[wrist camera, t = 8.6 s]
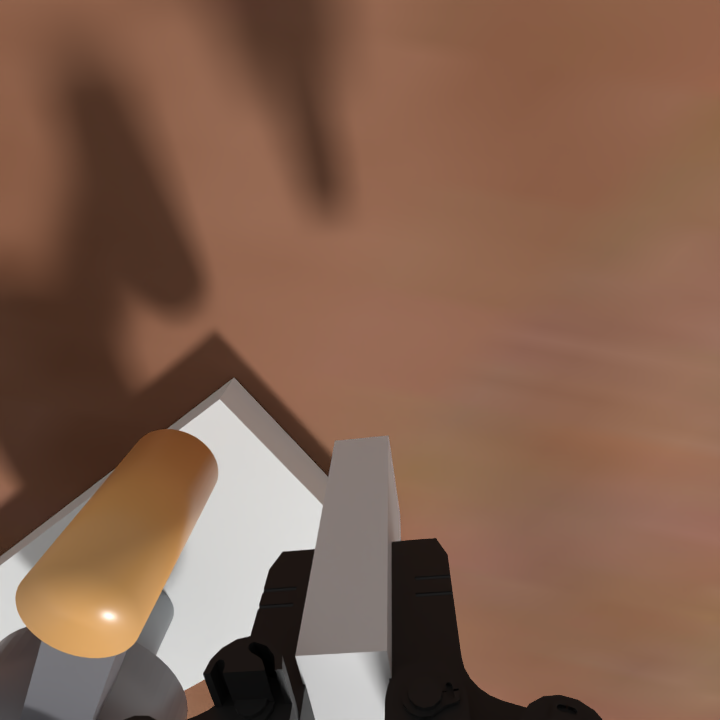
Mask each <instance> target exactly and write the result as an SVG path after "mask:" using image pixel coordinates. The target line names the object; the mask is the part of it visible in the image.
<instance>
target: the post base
mask: <svg viewBox="0 0 720 720" xmlns="http://www.w3.org/2000/svg"><path fill="white" fill-rule="evenodd" d="M167 429H174V430H179V431H183V432H186V433H189V434H191V435H193V436H195V437H196V438H198V439H199V440H201V441H202V442H203V443H204V444H205V445H206V446H207V447H208V448H209V449H210V450H211V452H212V453H213V455H214V457H215V459H216V462H217V465H218V480H217V483H216V485H215V487H214V489H213V491H212V493H211V495H210V497H209V499H208V501H207V503H206V505H205V507H204V509H203V511H202V513H201V515H200V517H199V519H198V521H197V523H196V525H195V526H194V528H193V530H192V532H191V534H190V536H189V538H188V540H187V542H186V544H185V546H184V548H183V550H182V552H181V554H180V556H179V558H178V560H177V562H176V564H175V566H174V568H173V570H172V572H171V574H170V576H169V578H168V580H167V582H166V584H165V586H164V588H163V590H162V592H161V594H160V596H159V598H158V600H157V602H156V604H155V605H154V607H153V609H152V611H151V613H150V615H149V617H148V619H147V621H146V623H145V625H144V627H143V629H142V631H141V633H140V635H139V637H138V639H137V641H136V642H137V643H138V644H140V645H142V646H143V647H145V648H146V649H148V650H149V651H151V652H152V653H153V654H155V655H156V656H157V657H159V658H160V659H161V660H162V661H163V662H164V663H165V664H166V665H167V666H168V667H169V668H170V670H171V671H172V672H173V673H174V674H175V676H176V677H177V679H178V680H179V682H180V684H181V686H182V688H183V690H186V689H188V688H190V687H192V686H193V685H195V684H197V683H199V682H201V681H202V680H204V679H205V678H204V676H203V672H204V671H205V669H206V667H207V665H208V663H209V661H210V660H211V658H212V657H213V656H214V655H215V654H216V653H217V652H218V651H219V650H220V649H221V648H222V647H224V646H226V645H228V644H229V643H231V642H233V641H235V640H236V639H239V638H244V637H248V636H250V635H251V632H252V628H253V625H254V621H255V618H256V614H257V610H258V609H259V603H260V600H261V596H262V593H264V586H265V582H266V579H267V575H268V572H269V569H270V567H271V566H272V565H273V564H274V562H275V561H276V560H277V558H278V557H279V556H280V554H281V553H282V552H283V551H296V550H309V549H315V546H316V541H317V535H318V530H319V524H320V519H321V514H322V508H323V503H324V497H325V492H326V487H327V481H328V476H327V475H326V474H325V473H324V472H323V471H322V470H321V469H320V468H319V467H318V466H317V464H316V463H315V462H314V461H313V460H312V459H311V458H310V457H309V456H308V455H307V454H306V453H305V452H304V451H303V450H302V449H301V448H300V447H299V445H298V444H297V443H296V442H295V441H294V440H293V439H292V438H291V437H290V436H289V435H288V434H287V433H286V432H285V431H284V430H283V429H282V428H281V426H280V425H279V424H278V423H277V422H276V421H275V420H274V419H273V418H272V417H271V416H270V415H269V414H268V413H267V412H266V411H265V410H264V409H263V407H262V406H261V405H260V404H259V403H258V402H257V401H256V400H255V399H254V398H253V397H252V396H251V395H250V394H249V393H248V392H247V391H246V390H245V389H244V387H243V386H242V385H241V384H240V383H239V382H238V381H237V380H236V379H235V378H233V379H231V380H230V381H229V382H227V383H226V384H225V385H224V386H222V387H221V388H220V389H218V390H217V391H216V392H214V393H213V394H212V395H210V396H209V397H208V398H207V399H205V400H204V401H203V402H201V403H200V404H199V405H197V406H196V407H195V408H193V409H192V410H191V411H190V412H188V413H187V414H186V415H184V416H183V417H182V418H180V419H179V420H178V421H177V422H175V423H174V424H173V425H171V426H170V427H169V428H167ZM114 470H115V469H114ZM114 470H113V471H114ZM113 471H111V472H110V473H109V474H107V475H106V476H105V477H103V478H102V479H101V480H99V481H98V482H97V483H96V484H94V485H93V486H92V487H90V488H89V489H88V490H86V491H85V492H84V493H82V494H81V495H80V496H79V497H77V498H76V499H75V500H73V501H72V502H71V503H69V504H68V505H67V506H66V507H64V508H63V509H62V510H60V511H59V512H58V513H56V514H55V515H54V516H52V517H51V518H50V519H49V520H47V521H46V522H45V523H43V524H42V525H41V526H39V527H38V528H37V529H35V530H34V531H33V532H32V533H30V534H29V535H28V536H26V537H25V538H24V539H22V540H21V541H20V542H19V543H17V544H16V545H15V546H13V547H12V548H11V549H9V550H8V551H7V552H5V553H4V554H3V555H2V556H0V641H1V640H2V639H4V638H5V637H6V636H8V635H9V634H11V633H13V632H15V631H17V630H19V629H21V628H24V627H26V625H25V624H24V623H23V621H22V619H21V618H20V616H19V613H18V611H17V607H16V601H15V596H16V591H17V588H18V586H19V584H20V582H21V581H22V580H23V578H24V577H25V576H26V575H27V574H28V572H29V571H30V570H31V569H32V568H33V566H34V565H35V564H36V563H37V562H38V561H39V559H40V558H41V557H42V556H43V555H44V553H45V552H46V551H47V550H48V549H49V547H50V546H51V545H52V544H53V543H54V541H55V540H56V539H57V538H58V537H59V535H60V534H61V533H62V532H63V531H64V529H65V528H66V527H67V526H68V525H69V523H70V522H71V521H72V520H73V519H74V517H75V516H76V515H77V514H78V513H79V511H80V510H81V509H82V508H83V507H84V505H85V504H86V503H87V502H88V501H89V499H90V498H91V497H92V496H93V495H94V493H95V492H96V491H97V490H98V489H99V487H100V486H101V485H102V484H103V483H104V481H105V480H106V479H107V478H108V477H109V475H110V474H111V473H112V472H113Z"/></svg>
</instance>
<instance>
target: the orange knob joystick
mask: <svg viewBox="0 0 720 720" xmlns="http://www.w3.org/2000/svg"><path fill="white" fill-rule="evenodd" d="M217 480H218V465H217V462H216V459H215V457H214V455H213V453H212V452H211V450H210V449H209V448H208V447H207V446H206V445H205V444H204V443H203V442H202V441H201V440H199V439H198V438H196V437H195V436H193V435H191V434H189V433H186V432H183V431H179V430H174V429H161V430H156V431H153V432H150V433H148V434H146V435H145V436H143V437H142V438H141V439H140V440H139V441H138V442H137V443H136V444H135V446H134V447H133V448H132V449H131V450H130V452H129V453H128V454H127V455H126V456H125V458H124V459H123V460H122V461H121V462H120V464H119V465H118V466H117V467H116V468H115V470H114V471H113V472H112V473H111V474H110V475H109V477H108V478H107V479H106V480H105V481H104V483H103V484H102V485H101V486H100V487H99V489H98V490H97V491H96V492H95V493H94V495H93V496H92V497H91V498H90V499H89V501H88V502H87V503H86V504H85V505H84V507H83V508H82V509H81V510H80V511H79V513H78V514H77V515H76V516H75V517H74V519H73V520H72V521H71V522H70V523H69V525H68V526H67V527H66V528H65V529H64V531H63V532H62V533H61V534H60V535H59V537H58V538H57V539H56V540H55V541H54V543H53V544H52V545H51V546H50V547H49V549H48V550H47V551H46V552H45V553H44V555H43V556H42V557H41V558H40V559H39V561H38V562H37V563H36V564H35V565H34V566H33V568H32V569H31V570H30V571H29V572H28V574H27V575H26V576H25V577H24V578H23V580H22V581H21V582H20V584H19V586H18V588H17V591H16V596H15V601H16V607H17V611H18V613H19V616H20V618H21V619H22V621H23V623H24V624H25V625H26V627H24V628H21V629H19V630H17V631H15V632H13V633H11V634H9V635H8V636H6V637H5V638H4V639H2V640H1V641H0V720H124V719H127V718H130V717H132V716H151V717H152V718H154V719H156V720H186V718H187V711H188V710H187V700H186V696H185V692H184V690H183V688H182V686H181V684H180V682H179V680H178V679H177V677H176V676H175V674H174V673H173V672H172V671H171V670H170V668H169V667H168V666H167V665H166V664H165V663H164V662H163V661H162V660H161V659H160V658H159V657H157V656H156V655H155V654H153V653H152V652H151V651H149V650H148V649H146V648H145V647H143V646H142V645H140V644H138V643H137V642H136V641H137V639H138V637H139V635H140V633H141V631H142V629H143V627H144V625H145V623H146V621H147V619H148V617H149V615H150V613H151V611H152V609H153V607H154V605H155V604H156V602H157V600H158V598H159V596H160V594H161V592H162V590H163V588H164V586H165V584H166V582H167V580H168V578H169V576H170V574H171V572H172V570H173V568H174V566H175V564H176V562H177V560H178V558H179V556H180V554H181V552H182V550H183V548H184V546H185V544H186V542H187V540H188V538H189V536H190V534H191V532H192V530H193V528H194V526H195V525H196V523H197V521H198V519H199V517H200V515H201V513H202V511H203V509H204V507H205V505H206V503H207V501H208V499H209V497H210V495H211V493H212V491H213V489H214V487H215V485H216V483H217Z"/></svg>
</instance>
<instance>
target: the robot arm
mask: <svg viewBox="0 0 720 720" xmlns="http://www.w3.org/2000/svg"><path fill="white" fill-rule="evenodd" d="M203 676H204V678H205V681H206V684H207V686H208V689H209V692H210V694H211V697H212V699H213V702H214V705H215V706H213V707H212V708H211V709H209V710H208V711H206V712H204V713H202V714H200V715H198V716H195V717H193V718H190V719H187V720H602V719H601V717H600V716H599V715H598V714H597V713H596V712H595V711H594V710H593V709H591V708H590V707H588V706H587V705H585V704H584V703H582V702H580V701H579V700H576V699H573V698H569V697H566V696H562V695H553V696H543V697H541V698H539V699H537V700H536V701H534V702H532V703H530V704H529V705H528V707H527V708H526V707H522V706H519V705H515V704H512V703H508V702H505V701H502V700H499V699H497V698H495V697H492V696H490V695H488V694H487V693H486V692H484V691H483V690H481V689H480V688H479V687H478V686H477V685H476V684H475V683H474V682H473V681H472V680H471V679H470V677H469V675H468V674H467V672H466V670H465V668H464V665H463V661H462V658H461V651H460V643H459V636H458V629H457V621H456V614H455V607H454V599H453V592H452V585H451V578H450V570H449V563H448V555H447V553H446V552H445V551H444V549H443V548H442V546H441V545H440V544H439V542H438V541H437V539H436V538H433V539H420V540H407V541H401V530H400V511H399V504H398V497H397V490H396V484H395V477H394V470H393V463H392V456H391V449H390V442H389V436H380V437H369V438H359V439H349V440H339V441H335V443H334V449H333V454H332V460H331V465H330V470H329V476H328V481H327V487H326V492H325V497H324V503H323V508H322V514H321V519H320V524H319V530H318V535H317V541H316V546H315V549H309V550H296V551H283V552H282V553H281V554H280V556H279V557H278V558H277V560H276V561H275V562H274V564H273V565H272V566H271V567H270V569H269V572H268V575H267V579H266V582H265V586H264V593H262V596H261V600H260V603H259V609H258V610H257V614H256V618H255V621H254V625H253V628H252V632H251V635H250V636H248V637H244V638H239V639H236V640H235V641H233V642H231V643H229V644H228V645H226V646H224V647H222V648H221V649H220V650H219V651H218V652H217V653H216V654H215V655H214V656H213V657H212V658H211V660H210V661H209V663H208V665H207V667H206V669H205V671H204V672H203ZM124 720H156V719H154V718H152V717H151V716H132V717H130V718H127V719H124Z"/></svg>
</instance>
